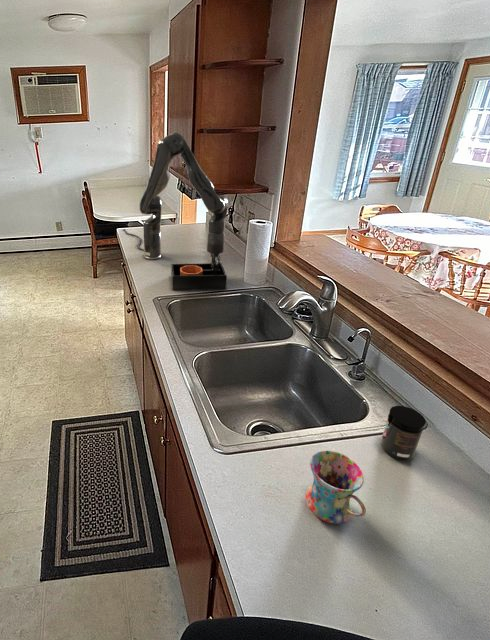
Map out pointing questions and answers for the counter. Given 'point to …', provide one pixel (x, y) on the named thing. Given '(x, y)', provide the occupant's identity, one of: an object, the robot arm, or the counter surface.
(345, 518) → the mug
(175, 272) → the black storage tray
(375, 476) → the counter surface
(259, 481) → the counter surface
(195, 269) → the pan
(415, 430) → the supplement container
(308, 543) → the counter surface
